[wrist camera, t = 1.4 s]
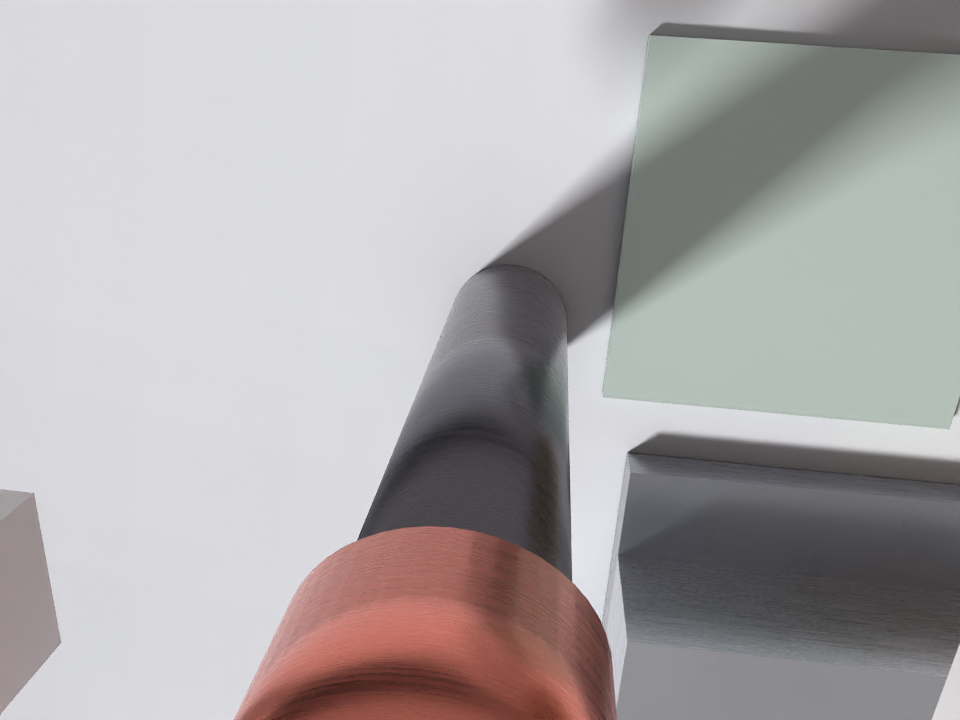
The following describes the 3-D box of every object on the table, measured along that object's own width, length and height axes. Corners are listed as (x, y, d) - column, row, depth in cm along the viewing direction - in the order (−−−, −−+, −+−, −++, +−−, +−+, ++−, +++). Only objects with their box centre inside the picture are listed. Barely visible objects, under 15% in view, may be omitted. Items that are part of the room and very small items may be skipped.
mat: (602, 391, 24) (603, 397, 24) (648, 35, 20) (650, 35, 20) (943, 422, 23) (949, 429, 23) (1057, 60, 19) (1067, 61, 19)
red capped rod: (432, 382, 24) (155, 1117, 8) (438, 241, 23) (99, 793, 6) (575, 394, 24) (608, 1188, 7) (591, 254, 22) (681, 870, 6)
